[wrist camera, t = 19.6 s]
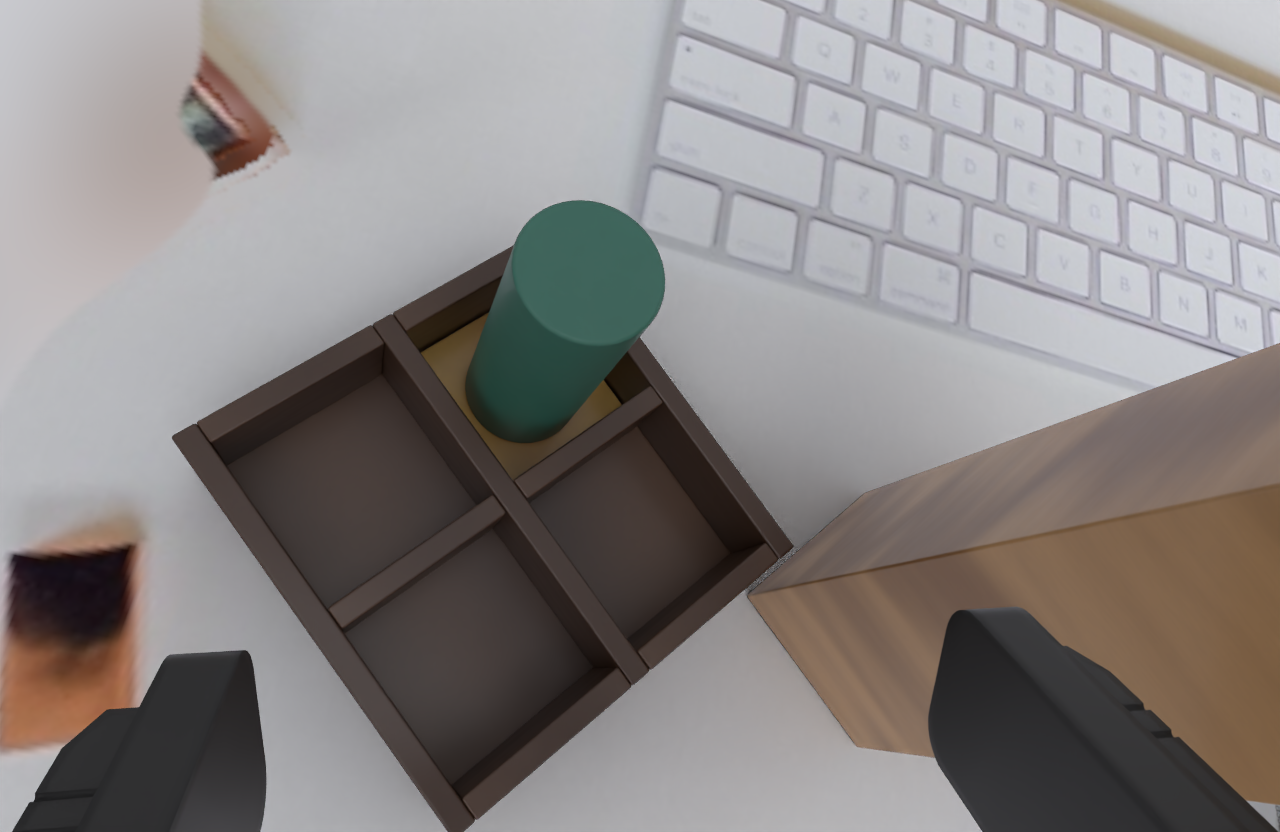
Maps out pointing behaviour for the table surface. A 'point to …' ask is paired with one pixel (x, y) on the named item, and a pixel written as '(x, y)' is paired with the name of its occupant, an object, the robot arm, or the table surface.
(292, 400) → the grid
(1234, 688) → the pillar
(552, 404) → the green cylinder
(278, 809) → the table surface
